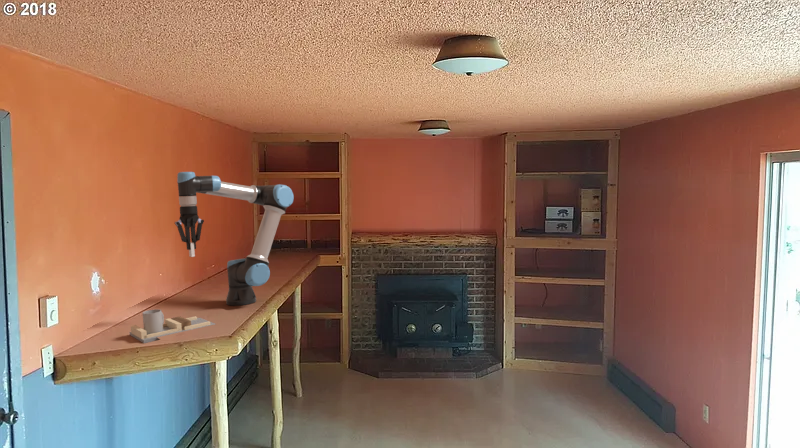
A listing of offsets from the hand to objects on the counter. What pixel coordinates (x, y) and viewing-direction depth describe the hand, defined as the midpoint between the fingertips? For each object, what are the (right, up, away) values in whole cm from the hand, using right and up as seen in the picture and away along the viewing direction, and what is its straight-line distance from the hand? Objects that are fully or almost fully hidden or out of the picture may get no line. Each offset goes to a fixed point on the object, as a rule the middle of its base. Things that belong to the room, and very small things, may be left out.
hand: (192, 256), depth 243 cm
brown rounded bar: (+1, -29, -14) cm, 33 cm away
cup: (-7, -31, -21) cm, 38 cm away
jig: (-1, -31, -17) cm, 35 cm away
